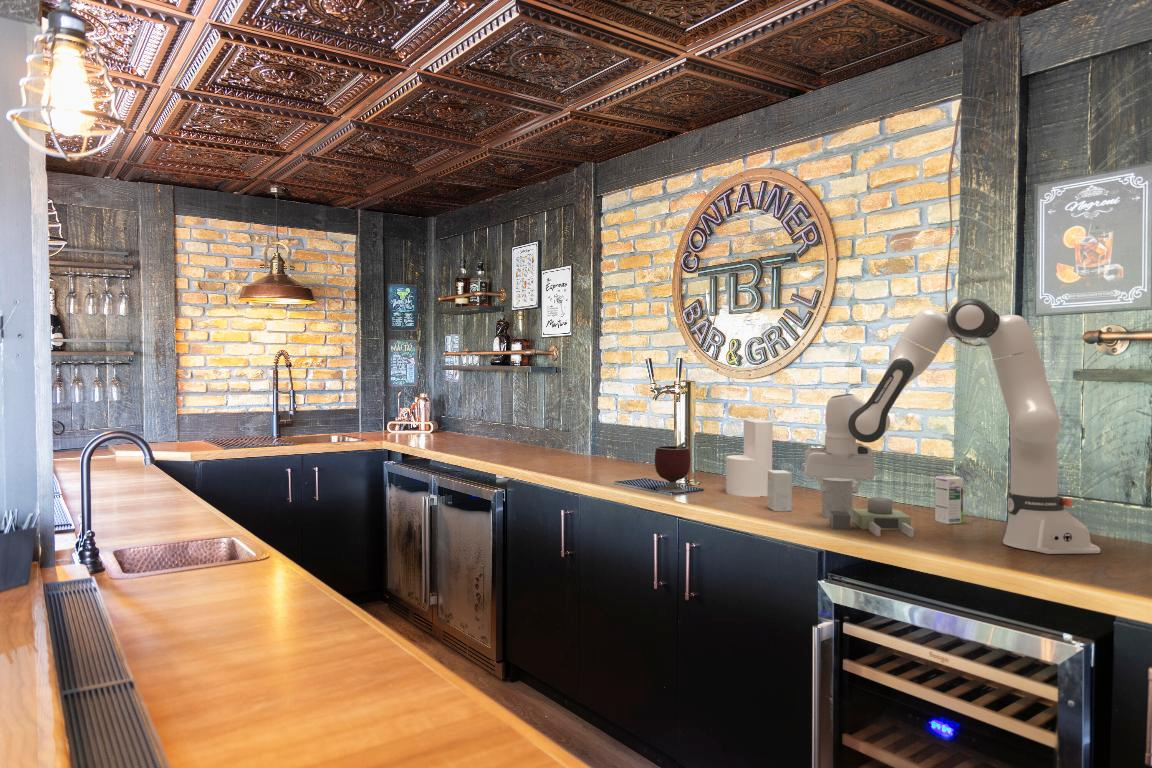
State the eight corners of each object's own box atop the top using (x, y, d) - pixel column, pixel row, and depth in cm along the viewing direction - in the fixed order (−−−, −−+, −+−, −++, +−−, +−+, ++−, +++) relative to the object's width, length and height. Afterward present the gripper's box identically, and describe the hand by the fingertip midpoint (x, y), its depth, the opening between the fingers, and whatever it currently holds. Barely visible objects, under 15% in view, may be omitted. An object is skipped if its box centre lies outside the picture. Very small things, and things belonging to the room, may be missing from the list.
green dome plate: (898, 522, 237) (898, 497, 237) (920, 537, 217) (920, 509, 216) (852, 521, 239) (852, 496, 239) (869, 535, 218) (869, 508, 218)
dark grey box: (846, 525, 233) (846, 511, 233) (850, 530, 226) (850, 515, 226) (829, 525, 234) (829, 510, 234) (832, 530, 227) (832, 515, 227)
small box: (792, 511, 256) (792, 473, 255) (773, 511, 255) (774, 473, 255) (784, 507, 264) (785, 469, 263) (766, 507, 264) (767, 469, 263)
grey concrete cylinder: (854, 519, 242) (855, 481, 242) (823, 518, 244) (823, 480, 244) (850, 514, 251) (850, 477, 251) (820, 512, 253) (820, 476, 253)
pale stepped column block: (764, 489, 302) (765, 419, 302) (777, 496, 285) (778, 422, 284) (721, 489, 302) (722, 419, 301) (731, 496, 284) (732, 422, 284)
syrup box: (948, 524, 235) (948, 478, 235) (934, 520, 241) (935, 475, 240) (963, 523, 236) (964, 477, 236) (949, 520, 242) (949, 474, 242)
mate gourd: (647, 489, 302) (648, 439, 301) (676, 486, 308) (677, 437, 307) (669, 495, 288) (670, 442, 287) (699, 492, 294) (700, 441, 294)
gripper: (806, 447, 228) (805, 492, 228) (877, 449, 225) (875, 495, 226) (803, 444, 234) (801, 489, 234) (871, 447, 232) (870, 492, 232)
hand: (838, 492), depth 230 cm, fingers open, 8 cm apart
